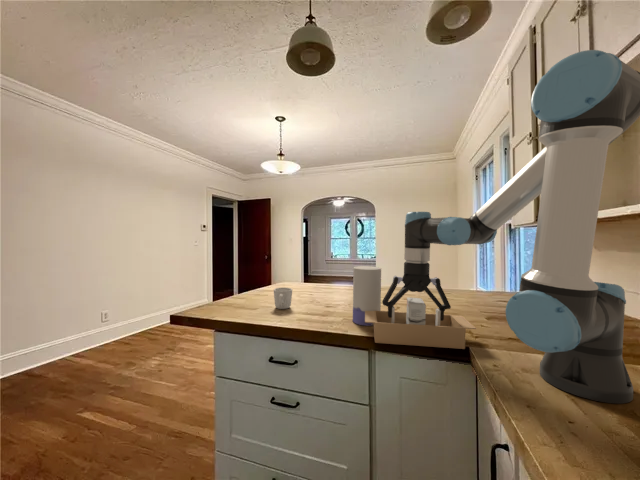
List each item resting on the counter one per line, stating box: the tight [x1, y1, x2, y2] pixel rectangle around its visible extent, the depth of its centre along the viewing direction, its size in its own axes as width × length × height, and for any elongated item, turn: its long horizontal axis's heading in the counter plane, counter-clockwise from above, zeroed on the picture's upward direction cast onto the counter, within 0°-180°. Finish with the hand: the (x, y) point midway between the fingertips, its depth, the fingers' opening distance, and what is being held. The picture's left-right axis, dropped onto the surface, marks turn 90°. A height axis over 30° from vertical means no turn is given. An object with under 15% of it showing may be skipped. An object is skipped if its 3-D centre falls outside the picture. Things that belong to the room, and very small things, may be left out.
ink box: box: [406, 297, 427, 325], centre depth 90 cm, size 8×5×12 cm, turn 168°
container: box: [352, 265, 382, 327], centre depth 105 cm, size 10×10×20 cm
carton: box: [365, 310, 477, 350], centre depth 90 cm, size 13×31×6 cm, turn 81°
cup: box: [273, 287, 293, 310], centre depth 121 cm, size 11×8×8 cm
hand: (414, 329), depth 90 cm, fingers open, 13 cm apart
